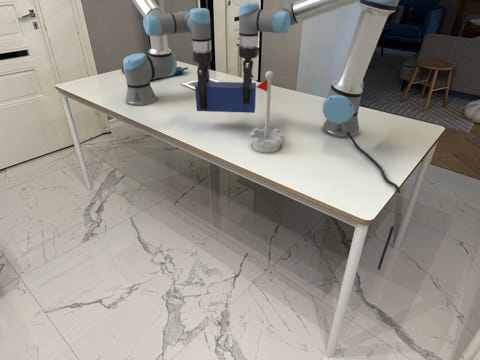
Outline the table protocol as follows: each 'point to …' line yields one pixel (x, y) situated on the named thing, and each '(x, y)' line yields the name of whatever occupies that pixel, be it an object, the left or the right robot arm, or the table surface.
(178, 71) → the submachine gun
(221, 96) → the box
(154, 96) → the left robot arm
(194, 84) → the tablet
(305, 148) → the table surface
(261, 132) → the flag stand
